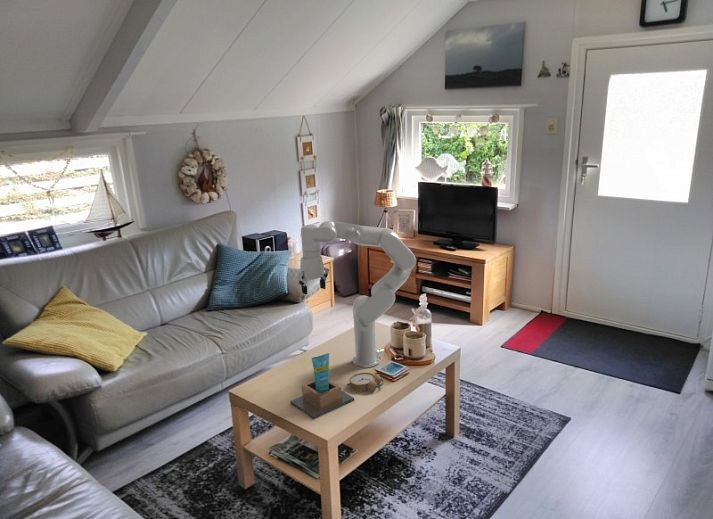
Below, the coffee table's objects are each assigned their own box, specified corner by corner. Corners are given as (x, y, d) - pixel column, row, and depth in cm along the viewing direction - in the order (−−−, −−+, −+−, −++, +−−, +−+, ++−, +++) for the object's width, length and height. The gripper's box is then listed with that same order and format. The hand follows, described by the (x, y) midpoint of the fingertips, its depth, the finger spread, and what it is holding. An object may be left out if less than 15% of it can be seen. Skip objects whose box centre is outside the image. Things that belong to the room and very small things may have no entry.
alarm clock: (355, 371, 241) (386, 370, 234) (357, 381, 242) (388, 381, 235) (344, 383, 231) (376, 383, 224) (346, 394, 232) (379, 394, 225)
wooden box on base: (330, 386, 234) (329, 371, 232) (354, 400, 222) (353, 384, 220) (290, 403, 222) (289, 387, 220) (313, 419, 210) (312, 402, 208)
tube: (318, 404, 219) (314, 359, 213) (312, 399, 223) (308, 355, 217) (334, 398, 222) (331, 354, 217) (328, 393, 226) (325, 350, 221)
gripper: (322, 248, 247) (324, 284, 252) (289, 256, 236) (292, 294, 241) (332, 251, 241) (334, 288, 246) (299, 259, 231) (302, 298, 235)
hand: (314, 291), depth 244 cm, fingers open, 9 cm apart
